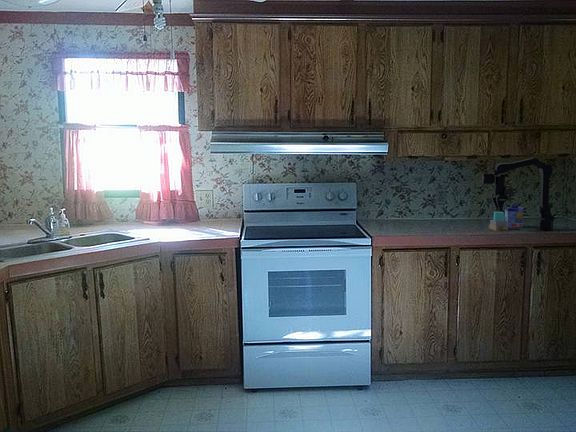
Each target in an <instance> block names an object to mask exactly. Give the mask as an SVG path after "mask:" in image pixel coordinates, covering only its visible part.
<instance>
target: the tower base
mask: <svg viewBox="0 0 576 432" xmlns="http://www.w3.org/2000/svg"><path fill="white" fill-rule="evenodd" d="M488 229H490V230H492V231H496V232H497V231H499V230H500V231H509V227H508V226H493V225H490V223H489V224H488Z"/></svg>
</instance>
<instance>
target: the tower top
mask: <svg viewBox="0 0 576 432" xmlns="http://www.w3.org/2000/svg"><path fill="white" fill-rule="evenodd" d="M489 221H490V222H489V224H490V225H493V226H507V221H505V219H504V221H495V220H494V219H490V220H489Z"/></svg>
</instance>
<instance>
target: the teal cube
mask: <svg viewBox="0 0 576 432" xmlns="http://www.w3.org/2000/svg"><path fill="white" fill-rule="evenodd" d="M493 220H495V221H504V220H505V212H504V211H493Z"/></svg>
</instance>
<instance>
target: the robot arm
mask: <svg viewBox="0 0 576 432" xmlns="http://www.w3.org/2000/svg"><path fill="white" fill-rule="evenodd" d="M528 166H534V167H535V168H537V169H539V175H540V179H541V180H540V181H541V182H540V186H541V187H540V201H539V202H540V203H539V204H536V210H535V211H536V212H537V215H538V216H539V217H540V222H539V227H538V230H541V231H545V232H546V231H548V232H549V231H555V229H554V220H555V218H556V217H555V215H553V214H552V211H551V207H550V202H549V201H550V199H549V198H550V184H551V183H550V180H551V177H552V175H553V172H554V167H553V166H552V164H550V163H545V162H543V161H542V160H539V159H538V158H536V157H531V158H530V157H529V158H527V159H522V160H518V161H513V162H509V163H508V162H505V163H503V162H502V163H501V162H500V163H497V164H496V165H495V167H494V170H492V172H491V173H487V172H483V173H482V178H481V184H482V185H493V184H494V186H493V188H494V191H492V192H491V194H490V197H491V200H492V202H493V205H494V206H495V208H496V210H498V212H503V211H502V210H503V208H504V206H505V203H506V202H507V201H509V196H510V197H514V196H515V194H516V191H513V190H512V188H511V187H507V186H506V178H510V175H509V174H508V172H510V171H511V170H515V169H519V168H524V167H528Z"/></svg>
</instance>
